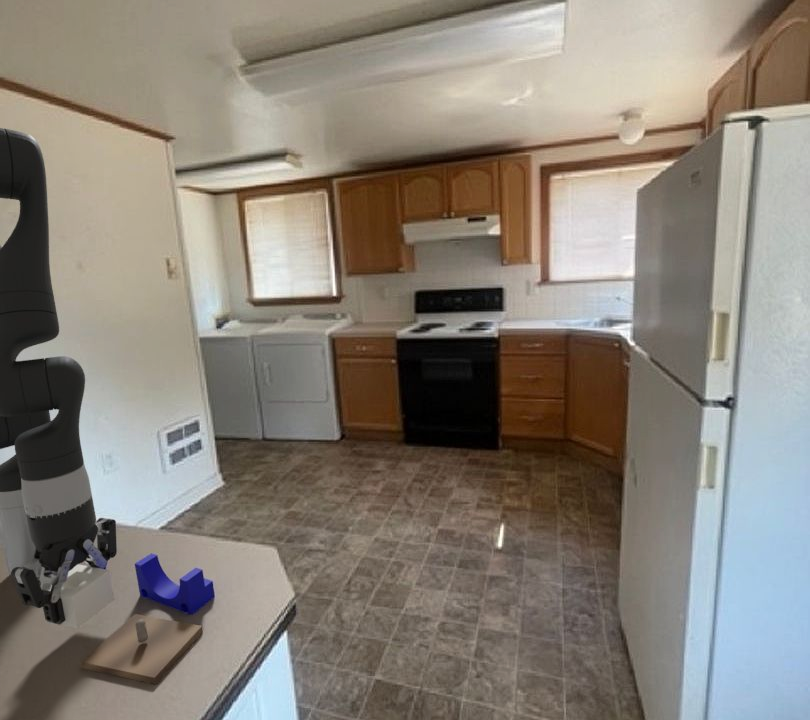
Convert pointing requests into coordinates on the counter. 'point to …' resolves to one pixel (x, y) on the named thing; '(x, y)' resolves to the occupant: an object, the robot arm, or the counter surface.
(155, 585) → the blue curved saddle bracket
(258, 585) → the counter surface
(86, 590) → the white hollow square block
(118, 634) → the pin base
